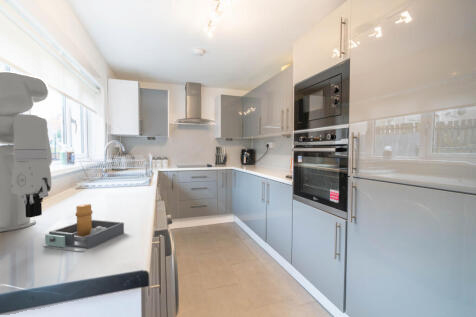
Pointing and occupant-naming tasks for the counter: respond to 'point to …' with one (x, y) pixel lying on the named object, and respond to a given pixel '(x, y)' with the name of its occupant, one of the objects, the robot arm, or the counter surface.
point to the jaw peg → (84, 219)
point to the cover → (55, 240)
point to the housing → (97, 235)
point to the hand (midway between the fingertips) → (34, 216)
